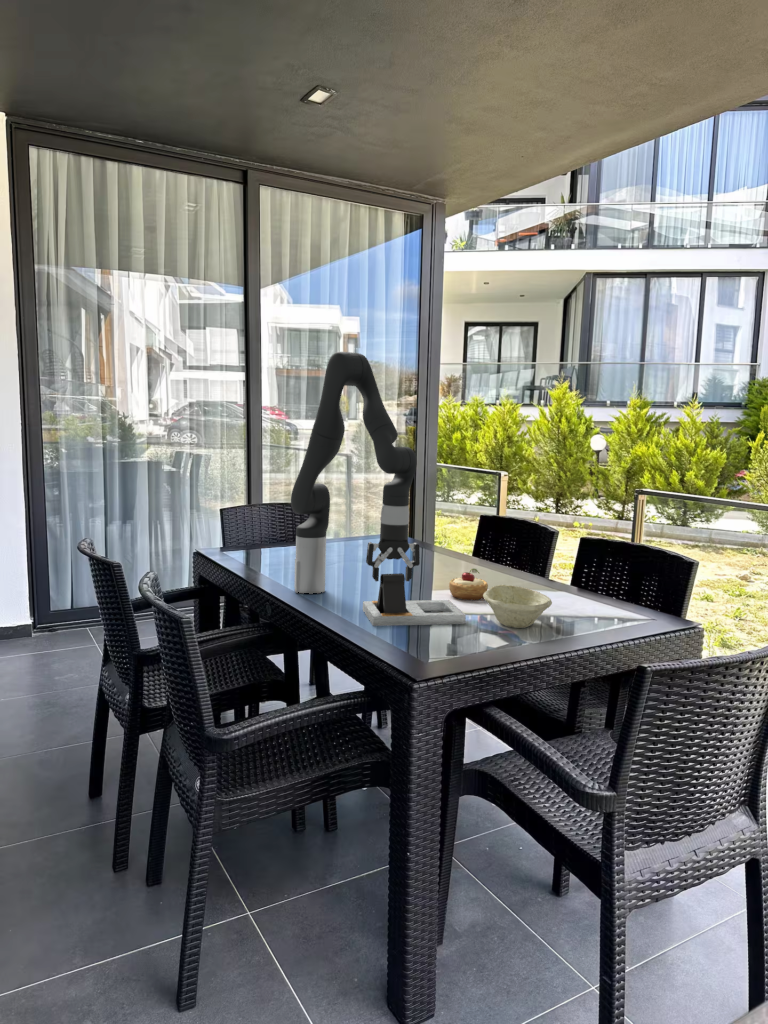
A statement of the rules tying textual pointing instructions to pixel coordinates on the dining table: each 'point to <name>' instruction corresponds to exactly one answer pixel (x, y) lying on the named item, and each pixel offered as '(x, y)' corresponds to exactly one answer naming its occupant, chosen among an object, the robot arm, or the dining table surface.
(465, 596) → the pastry
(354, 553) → the dining table surface
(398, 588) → the phone stand
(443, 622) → the white slotted tray
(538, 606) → the bowl
